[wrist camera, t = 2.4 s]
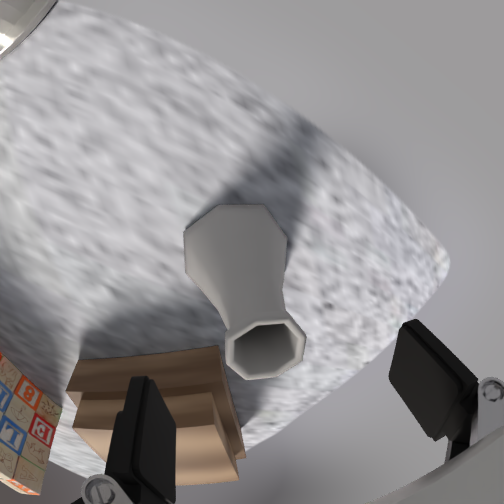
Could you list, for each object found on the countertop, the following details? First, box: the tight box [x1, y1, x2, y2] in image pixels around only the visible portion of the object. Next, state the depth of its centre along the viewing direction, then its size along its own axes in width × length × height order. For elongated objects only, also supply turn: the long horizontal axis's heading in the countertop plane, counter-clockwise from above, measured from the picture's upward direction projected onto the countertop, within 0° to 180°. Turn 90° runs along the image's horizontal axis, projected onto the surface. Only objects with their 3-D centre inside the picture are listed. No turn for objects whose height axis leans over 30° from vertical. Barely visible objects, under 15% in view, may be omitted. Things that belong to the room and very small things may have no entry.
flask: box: [183, 204, 307, 380], centre depth 15 cm, size 7×7×10 cm
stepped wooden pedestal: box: [66, 346, 246, 485], centre depth 21 cm, size 13×13×7 cm
